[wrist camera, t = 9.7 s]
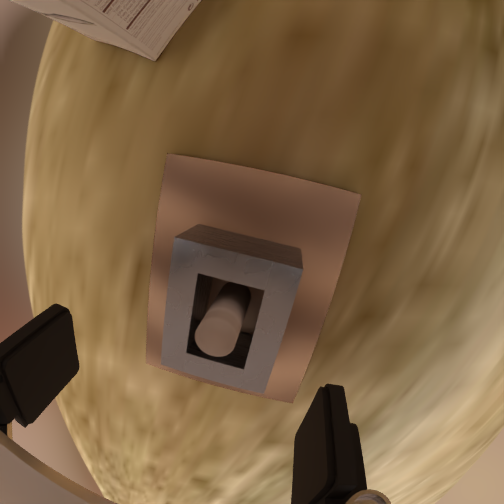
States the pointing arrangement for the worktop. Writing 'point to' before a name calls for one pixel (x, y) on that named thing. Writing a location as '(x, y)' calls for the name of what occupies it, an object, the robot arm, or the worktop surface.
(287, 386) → the keeper
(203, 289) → the link
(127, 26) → the supplement box
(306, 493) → the robot arm
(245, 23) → the worktop surface
